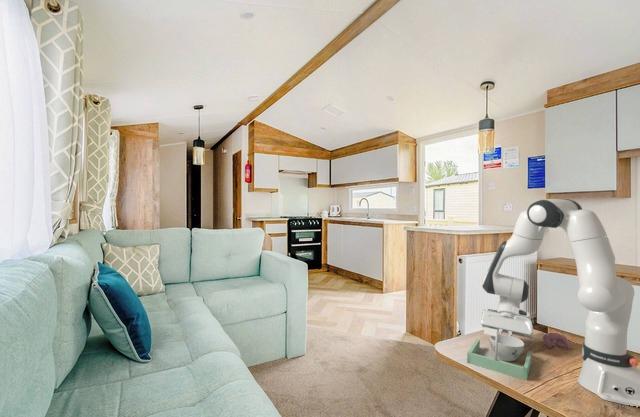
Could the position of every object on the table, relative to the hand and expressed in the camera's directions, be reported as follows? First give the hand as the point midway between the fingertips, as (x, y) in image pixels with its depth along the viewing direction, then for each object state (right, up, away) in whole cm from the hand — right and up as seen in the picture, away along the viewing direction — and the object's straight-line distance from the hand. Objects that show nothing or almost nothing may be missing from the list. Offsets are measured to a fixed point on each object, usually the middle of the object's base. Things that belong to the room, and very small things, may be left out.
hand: (504, 340), depth 139 cm
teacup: (-3, -5, -5) cm, 7 cm away
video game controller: (+27, -5, +6) cm, 28 cm away
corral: (-7, -5, -9) cm, 12 cm away
